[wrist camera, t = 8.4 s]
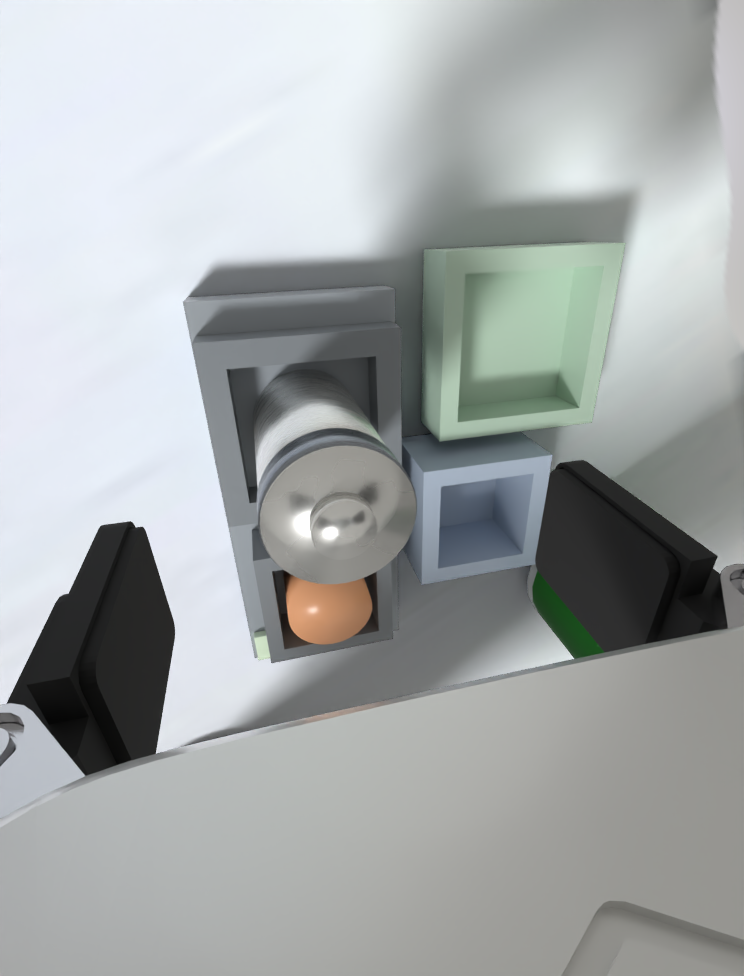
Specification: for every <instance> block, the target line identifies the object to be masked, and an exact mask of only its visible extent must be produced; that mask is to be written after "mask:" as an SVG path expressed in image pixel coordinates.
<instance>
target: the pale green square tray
mask: <svg viewBox="0 0 744 976" xmlns="http://www.w3.org/2000/svg"><path fill="white" fill-rule="evenodd" d="M625 244H626V243H613V242H573V243H551V244H530V245H508V246H487V247H465V248H444V249H424V263H423V330H422V397H421V422H422V423H423V424H424V426H425V427H426V428H427V429H428V430H429V431H430V432H431V433H432V434H433V435H434V436H435V437H436V438H437V439H438V440H439V441H448V440H456V439H464V438H472V437H480V436H488V435H496V434H504V433H512V432H520V431H528V430H536V429H544V428H552V427H560V426H568V425H576V424H584V423H592V419H593V413H594V408H595V403H596V398H597V392H598V387H599V382H600V376H601V371H602V366H603V360H604V355H605V350H606V344H607V339H608V334H609V329H610V323H611V318H612V313H613V307H614V302H615V297H616V291H617V286H618V281H619V275H620V270H621V265H622V260H623V254H624V249H625Z"/></svg>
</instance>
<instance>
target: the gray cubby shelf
mask: <svg viewBox="0 0 744 976" xmlns="http://www.w3.org/2000/svg"><path fill="white" fill-rule="evenodd" d="M183 305H184V310H185V315H186V319H187V324H188V329H189V334H190V339H191V344H192V349H193V354H194V359H195V364H196V369H197V374H198V379H199V384H200V389H201V394H202V399H203V403H204V408H205V413H206V418H207V423H208V428H209V433H210V438H211V443H212V448H213V453H214V458H215V463H216V468H217V473H218V478H219V483H220V488H221V492H222V497H223V502H224V507H225V512H226V517H227V522H228V527H229V532H230V537H231V542H232V547H233V552H234V557H235V562H236V567H237V572H238V576H239V581H240V586H241V591H242V596H243V601H244V606H245V611H246V616H247V621H248V626H249V631H250V636H251V641H252V646H253V651H254V656H255V658H258V660H263V659H268V658H271V663H275V662H280V661H285V660H290V659H295V658H300V657H305V656H310V655H315V654H320V653H325V652H330V651H335V650H340V649H345V648H350V647H354V646H359V645H364V644H369V643H374V642H379V641H384V640H389V639H393V631H395V630H399V626H398V554H397V556H396V557H395V558H394V559H393V560H391V561H390V562H389V563H388V564H387V565H385V566H384V567H383V568H381V569H380V570H378V571H376V572H375V573H373V574H371V575H369V576H367V577H364V579H365V582H366V585H367V588H368V591H369V594H370V596H371V600H372V612H371V615H370V618H369V620H368V622H367V623H366V625H365V626H364V627H363V628H362V629H361V630H360V631H359V632H358V633H356V634H355V635H354V636H352V637H350V638H348V639H346V640H344V641H341V642H338V643H334V644H324V645H323V644H314V643H310V642H307V641H305V640H303V639H301V638H300V637H298V636H297V635H296V634H295V633H294V632H293V630H292V629H291V627H290V624H289V620H288V611H287V603H286V595H285V586H284V577H283V573H284V570H283V569H282V568H281V567H280V566H278V565H277V564H276V563H275V562H274V561H273V560H272V558H271V557H270V556H269V555H268V553H267V551H266V550H265V548H264V546H263V543H262V541H261V538H260V534H259V528H258V514H257V491H258V486H257V471H256V456H255V441H254V426H253V413H254V408H255V404H256V402H257V399H258V397H259V395H260V394H261V392H262V391H263V389H264V388H265V387H266V386H267V385H268V384H269V383H270V382H271V381H272V380H274V379H275V378H277V377H278V376H280V375H282V374H284V373H286V372H290V371H293V370H298V369H313V370H318V371H322V372H325V373H327V374H329V375H331V376H333V377H335V378H336V379H337V380H339V381H340V382H341V383H342V384H343V385H344V386H345V387H346V388H347V390H348V391H349V392H350V394H351V395H352V397H353V398H354V400H355V401H356V403H357V404H358V406H359V407H360V409H361V410H362V411H363V413H364V414H365V416H366V417H367V419H368V420H369V422H370V423H371V425H372V426H373V428H374V429H375V431H376V432H377V433H378V435H379V436H380V438H381V439H382V441H383V442H384V444H385V445H386V446H387V447H388V448H389V449H390V450H391V452H392V453H393V454H394V455H395V457H396V458H397V460H398V461H399V463H400V464H401V465H402V418H401V327H400V326H398V325H396V324H395V289H393V288H391V287H388V286H385V285H383V286H367V287H350V288H333V289H317V290H300V291H283V292H267V293H250V294H233V295H217V296H200V297H187V298H186V299H185V300H184V302H183Z"/></svg>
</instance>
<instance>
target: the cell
mask: <svg viewBox="0 0 744 976" xmlns="http://www.w3.org/2000/svg"><path fill="white" fill-rule="evenodd" d="M253 426H254V441H255V456H256V471H257V486H258V491H257V514H258V528H259V534H260V538H261V541H262V543H263V546H264V548H265V550H266V551H267V553H268V555H269V556H270V557H271V558H272V560H273V561H274V562H275V563H276V564H277V565H278V566H280V567H281V568H282V569H283V570H285V571H286V572H288V573H289V574H291V575H293V576H295V577H297V578H299V579H302V580H305V581H308V582H313V583H318V584H341V583H347V582H352V581H356V580H359V579H362V578H364V577H367V576H369V575H371V574H373V573H375V572H376V571H378V570H380V569H381V568H383V567H384V566H385V565H387V564H388V563H389V562H390V561H391V560H393V559H394V558H395V557H396V556H397V554H398V553H399V552H400V551H401V550H402V548H403V547H404V545H405V544H406V542H407V541H408V539H409V537H410V535H411V532H412V530H413V527H414V524H415V519H416V513H417V499H416V494H415V489H414V487H413V484H412V481H411V480H410V478H409V476H408V474H407V473H406V471H405V470H404V468H403V467H402V465H401V464H400V463H399V461H398V460H397V458H396V457H395V455H394V454H393V453H392V452H391V450H390V449H389V448H388V447H387V446H386V445H385V444H384V442H383V441H382V439H381V438H380V436H379V435H378V433H377V432H376V431H375V429H374V428H373V426H372V425H371V423H370V422H369V420H368V419H367V417H366V416H365V414H364V413H363V411H362V410H361V409H360V407H359V406H358V404H357V403H356V401H355V400H354V398H353V397H352V395H351V394H350V392H349V391H348V390H347V388H346V387H345V386H344V385H343V384H342V383H341V382H340V381H339V380H337V379H336V378H335V377H333V376H331V375H329V374H327V373H325V372H322V371H318V370H313V369H298V370H293V371H290V372H286V373H284V374H282V375H280V376H278V377H277V378H275V379H274V380H272V381H271V382H270V383H269V384H268V385H267V386H266V387H265V388H264V389H263V391H262V392H261V394H260V395H259V397H258V399H257V402H256V404H255V408H254V413H253Z"/></svg>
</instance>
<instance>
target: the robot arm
mask: <svg viewBox="0 0 744 976" xmlns="http://www.w3.org/2000/svg"><path fill="white" fill-rule="evenodd" d="M716 559H717V556H716V555H715V554H714V553H712V552H711V551H709V550H708V549H707V548H705V547H704V546H703V545H701V544H700V543H698V542H697V541H696V540H694V539H693V538H691V537H690V536H689V535H687V534H686V533H685V532H683V531H682V530H680V529H679V528H678V527H676V526H675V525H673V524H672V523H671V522H669V521H668V520H667V519H665V518H664V517H662V516H661V515H660V514H658V513H657V512H655V511H654V510H653V509H651V508H650V507H649V506H647V505H646V504H644V503H643V502H642V501H640V500H639V499H638V498H636V497H635V496H633V495H632V494H631V493H629V492H628V491H626V490H625V489H624V488H622V487H621V486H620V485H618V484H617V483H615V482H614V481H613V480H611V479H610V478H608V477H607V476H606V475H604V474H603V473H602V472H600V471H599V470H597V469H596V468H595V467H593V466H592V465H590V464H589V463H588V462H586V461H584V460H579V461H572V462H565V463H560V464H558V465H557V467H556V469H555V470H553V471H552V472H551V473H550V476H549V482H548V488H547V493H546V499H545V505H544V510H543V516H542V522H541V528H540V533H539V539H538V545H537V551H536V556H535V563H536V568H537V570H538V572H539V573H540V575H541V576H542V577H543V578H544V579H545V581H546V582H547V583H548V584H549V585H550V587H551V588H552V589H553V590H554V592H555V593H556V594H557V595H558V596H559V598H560V599H561V600H562V601H563V602H564V604H565V605H566V606H567V607H568V609H569V610H570V611H571V612H572V613H573V615H574V616H575V617H576V618H577V620H578V621H579V622H580V623H581V624H582V626H583V627H584V628H585V629H586V630H587V632H588V633H589V634H590V635H591V637H592V638H593V639H594V640H595V641H596V643H597V644H598V645H599V646H600V647H601V649H602V650H603V651H604V652H605V653H601V654H596V655H591V656H587V657H582V658H577V659H572V660H568V661H563V662H558V663H553V664H549V665H544V666H539V667H535V668H530V669H525V670H521V671H516V672H512V673H507V674H502V675H498V676H493V677H488V678H484V679H479V680H475V681H470V682H465V683H461V684H456V685H452V686H447V687H442V688H438V689H433V690H429V691H424V692H420V693H415V694H410V695H406V696H401V697H397V698H392V699H388V700H383V701H379V702H374V703H370V704H365V705H361V706H356V707H352V708H347V709H343V710H338V711H334V712H330V713H325V714H321V715H316V716H312V717H307V718H303V719H298V720H294V721H289V722H285V723H280V724H276V725H271V726H267V727H263V728H258V729H254V730H250V731H246V732H242V733H237V734H233V735H229V736H225V737H221V738H216V739H212V740H208V741H204V742H200V743H196V744H192V745H187V746H183V747H179V748H175V749H172V750H168V751H164V752H161V753H157V754H156V748H157V742H158V736H159V730H160V724H161V718H162V712H163V706H164V700H165V693H166V687H167V681H168V675H169V669H170V663H171V657H172V651H173V645H174V639H175V627H174V621H173V618H172V615H171V611H170V608H169V605H168V602H167V598H166V595H165V592H164V589H163V585H162V582H161V579H160V576H159V573H158V569H157V566H156V563H155V560H154V556H153V553H152V550H151V547H150V543H149V540H148V537H147V534H146V531H145V529H144V528H143V527H137V528H135V525H134V524H133V523H132V522H131V521H130V522H123V523H116V524H108V525H102V526H100V528H99V530H98V532H97V534H96V536H95V538H94V540H93V542H92V545H91V547H90V549H89V551H88V553H87V555H86V558H85V560H84V562H83V564H82V566H81V568H80V570H79V573H78V575H77V577H76V579H75V581H74V583H73V586H72V588H71V590H70V592H69V594H64V595H62V596H61V597H59V599H58V600H57V602H56V603H55V605H54V607H53V609H52V611H51V614H50V616H49V618H48V620H47V622H46V624H45V626H44V628H43V630H42V632H41V634H40V636H39V638H38V640H37V642H36V644H35V646H34V648H33V650H32V653H31V655H30V657H29V659H28V661H27V663H26V665H25V667H24V669H23V671H22V673H21V675H20V677H19V679H18V681H17V683H16V685H15V687H14V690H13V692H12V694H11V696H10V698H9V700H8V702H7V704H2V705H0V976H744V564H734V565H730V566H727V567H725V568H724V569H723V570H722V571H721V573H720V574H719V573H718V572H717V571H715V570H714V569H713V566H714V564H715V561H716Z"/></svg>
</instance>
